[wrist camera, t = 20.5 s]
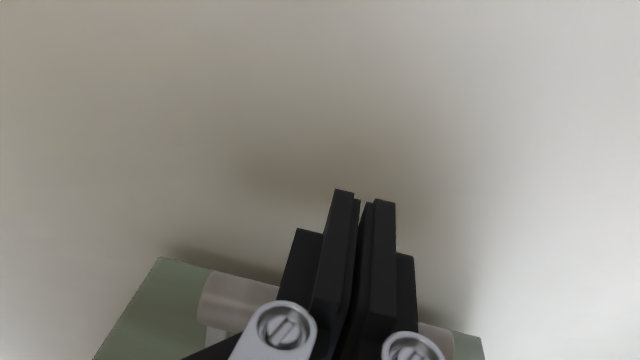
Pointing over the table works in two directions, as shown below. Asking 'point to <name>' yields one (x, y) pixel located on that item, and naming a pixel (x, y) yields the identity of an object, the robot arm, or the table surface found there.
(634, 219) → the table surface
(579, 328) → the table surface
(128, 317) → the drawer
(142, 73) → the table surface
